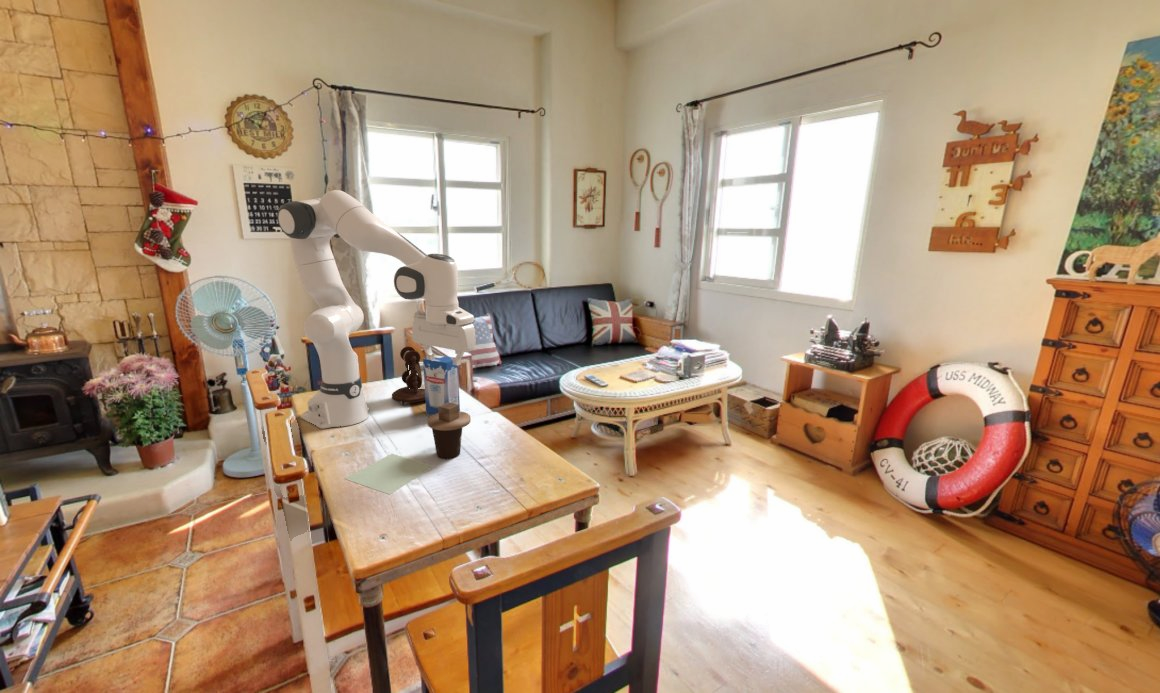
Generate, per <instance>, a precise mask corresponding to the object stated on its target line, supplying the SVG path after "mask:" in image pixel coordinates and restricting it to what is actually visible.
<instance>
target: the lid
mask: <svg viewBox="0 0 1160 693" xmlns="http://www.w3.org/2000/svg"><path fill="white" fill-rule="evenodd" d="M438 411H439V413H436V414H434V415H430V416H429V417H428V418H427V426H428V427H429V428H430V429H431V430H432V429H435V430H444V431H446V430H455V429H460V428H462V429H463V428H465V427H467V426H468V425H469V424H470V423H471V415H470V414H469V413H468V412H466V411H465V412H464V411H462V410H460V411H459V405H458V404H454V403H449V402H447V403H445V404H443V405H441V406H438Z"/></svg>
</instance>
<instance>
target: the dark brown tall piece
mask: <svg viewBox="0 0 1160 693" xmlns="http://www.w3.org/2000/svg"><path fill="white" fill-rule="evenodd" d="M399 353H400V354H399V356H400V358H401V360H403V361H404V362H405V363H404V367H405V369H406V370H405V371H404V372H403V373H402V375H401V380H402V382H403V383H404V384H406V386H404V387H401V388H398V389H396V390H394V391H393V392H392V394H391V399H392V400H393V401H395V402H397V403H398V402H399V403H401V406H405V404H406V403H407V404H409V403H418V402H423V401H425V389H418V388H420V387H421V386H423V376H422V369H421V365H420V361H421V355H420V353H419V352H418V350H415V349H414V347H412V346H405V347H403V348H402V349H401V350H400V352H399ZM408 365H409V370H408ZM410 370H411V374H410V375H409V371H410ZM417 374H418V375H417ZM409 388H410V389H409Z"/></svg>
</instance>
